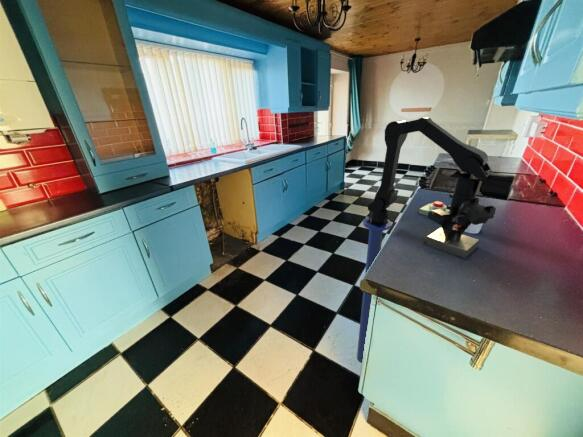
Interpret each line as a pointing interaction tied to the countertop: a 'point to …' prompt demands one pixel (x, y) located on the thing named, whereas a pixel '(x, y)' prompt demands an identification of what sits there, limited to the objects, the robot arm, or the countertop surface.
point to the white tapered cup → (474, 228)
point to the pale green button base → (430, 207)
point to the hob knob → (456, 233)
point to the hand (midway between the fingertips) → (452, 236)
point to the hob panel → (452, 243)
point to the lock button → (438, 204)
